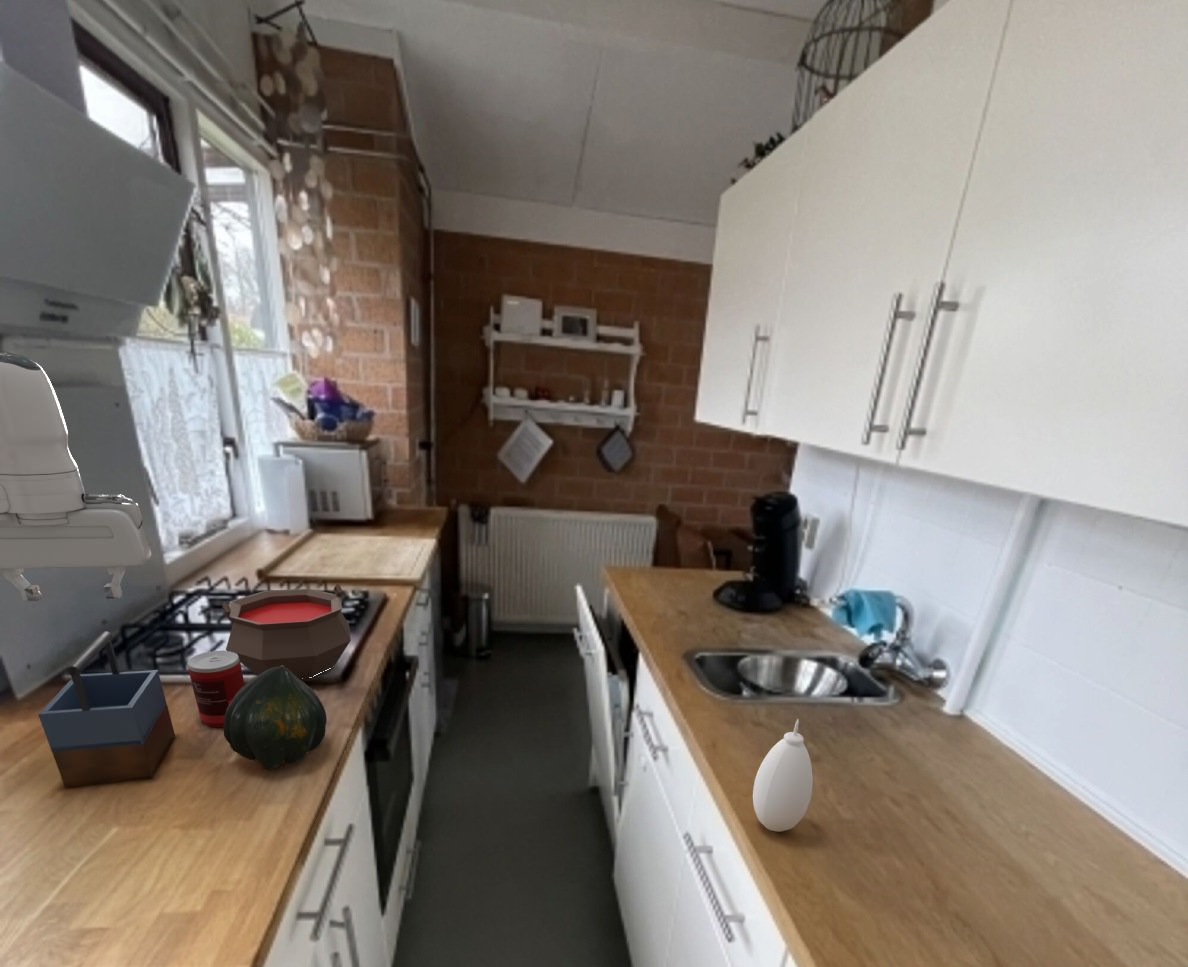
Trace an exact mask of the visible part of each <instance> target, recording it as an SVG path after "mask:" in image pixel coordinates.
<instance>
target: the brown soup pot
mask: <svg viewBox="0 0 1188 967" xmlns="http://www.w3.org/2000/svg"><path fill="white" fill-rule="evenodd" d="M333 591H334V593H331V592H326V591H322V590H317V589H313V588H295V589H294V588H293V589H273V590H272V589H271V590H264V591H260V592H257V593H254V594H250V595H247V596H244V597H240V598H237V599H234V600H231V601H229V603H228V602H227V601H223V602H222V604H221V610H222V613H223V615H224V617H226V618H227V619H228V620H229V621H230V622H232V624H231V625H232V626H231V630H230V632H229V637H228V640H227V644H226V647H225V651H230V652H234V653H236V654H237V655H238V657H239V660H240V664H241V665H244V667H246V668H247V669H248V670H249V671H250V672H251V673H253V674H254V675H255V676H256V677H257V676H259V675H260V674H262V673H263V672H265V671H267V670H269V669H271V668H274V667H279V666H281V665H282V666H284V667H285V668H287V669H288V670H290V671H291V672H292V673H293V674H294V675H295V676H296V677H297V678H298V679H300V680H301V681H302V682H304V683H305V682H306V683H307V682H311V681H314V680H316V679H318V678H320V677H323V676H324V675H326V674H328V673H331V672H332V671H333V669H334V667H335V666H336V664H338V661H339V660H340V658H341V657H342V656H343V654H344V652H345V651H346V649H347V648H348V646H349V644H350V643H351V641H352V638H351V630H350V624H349V622H348V621H347V619H346V617H345V616H344V614H343V612H342V610H343V605H342V604H343V603H342V594H343V589H342V587H341V584H339V583H336V584H335V585H334V587H333ZM333 666H334V667H333ZM332 667H333V668H332ZM329 668H331V669H329ZM327 669H329V670H327ZM325 670H327V671H325ZM323 671H324V672H323ZM320 672H322V673H320ZM318 673H320V674H318ZM316 674H318V675H316ZM314 675H316V676H314ZM313 676H314V677H313ZM309 677H312V678H309ZM302 678H303V679H302Z"/></svg>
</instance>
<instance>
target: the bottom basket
mask: <svg viewBox="0 0 1188 967" xmlns="http://www.w3.org/2000/svg"><path fill="white" fill-rule="evenodd" d="M175 737H176V733H175V729H174V726H173V720H172V718H171V714H170V710H169V706H168V703H167V704H166V706H165V707H164V709H163V711H162V712H161V714H160V716H159V717H158V719H157V721H156V722H155V724H154V726H153V727H152V729H151V731H150V732H149V734H148V736H147V737H146V739H145V741H144V742H143V744H140V745H128V746H117V747H105V748H93V749H81V750H69V751H57V752H52V751H51V753H52V756H53V759H54V761H55V764H56V767H57V770H58V773H59V776H60V778H61V782H62V783H63V786H64V788H65V789H67V788H75V787H84V786H85V787H86V786H96V785H106V784H108V785H109V784H116V783H117V784H118V783H126V782H127V783H128V782H136V781H137V782H138V781H148V780H153V779H154V777H155V775H157V774H156V773H157V772H158V770H159V768H160V766H161V764H162V762H163V760H164V759H165V757H166V755H167V753H168V751H169V749H170V747H171V745H172V743H173V742H174V740H175Z"/></svg>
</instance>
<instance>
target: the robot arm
mask: <svg viewBox="0 0 1188 967" xmlns="http://www.w3.org/2000/svg"><path fill="white" fill-rule="evenodd" d="M58 399H59V398H58V397H57V394H56V391H55V389H54V387H53V385H52V383H51V381H50V378H49V377H48V375H47V374H46V372H45V370H44V368H42V366H41V365H40V364H38V363H37V362H35V361H33V360H32V359H31V358H29V357H26V356H24V355H20V354H17V353H13V352H10V351H9V352H8V351H3V350H0V570H1V572H2V575H3V577H4V578H5V579H6V580H7V581H8V582H9V583H10V584H12V586H14V587H15V588H16V589H17V590H19V592H20V595H21V598H22V600H23V601H24V602H38V601H40V600H41V599H43V598H42V597H43V594H42V592H41V591H40V590H41V588H40V586H39V585H38V584H31V583H30V582H29V581H28V580H27V579H26V578H25V577H24V576H23V575H22V574H23V573H24V572H25V570H27V569H30V570H31V569H32V570H33V569H72V568H73V569H75V568H77V569H79V568H106V570H107V574H108V575H113V577H112V579H111V581H110V582H108V583H106V584H105V585H103V586H102V590H103V592H104V593H105V594H104V596H105V598H106V599H120V598H122V596H123V590H122V587H121V583H122V580H123V578H124V575H125V573H126V570H127V569H126V567H142V566H144V565H145V564H146V563H147V562H148V561H149V560H150V558H151V557H152V550H151V546H150V543H149V540H148V537H147V535H146V532H145V530H144V528H143V523H144V520H143V515H142V511H141V507H140V506H139V504H138V503H137V502H135V501H134V500H133V499H131V498H128V497H125V495H123V494H114V493H113V494H99V493H97V494H95V493H93V494H92V493H86V491H85V488H84V485H83V484H84V483H83V481H82V477H81V474H80V471H79V467H78V464H77V462H76V461H75V459H74V458H73V456H72V454H71V452H70V449H69V431H68V428H67V424H66V421H65V417H64V414H63V411H62V407H61V405H60V402H59V400H58Z"/></svg>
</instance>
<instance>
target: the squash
mask: <svg viewBox="0 0 1188 967" xmlns="http://www.w3.org/2000/svg"><path fill="white" fill-rule="evenodd" d="M244 685H245V686H243V687H242V688H241V689H240V690H239V691H238V692H237V694H236V695H235V697H234V698H233V700H232V701H231V703H230V704H229V706H228V708H227V710H226V714H225V718H224V727H223V737H224V739H225V740H226V742H227V743H228V744H229V746H230V748H231V750H232V751H233V753H236V754H238V755H240V756H241V757H242V758H244V759H246V760H250V761H257V762H258V764H260V765H261V767H263V768H266V769H270V770H275V769H277V768H279V767H281V765H283V763H284V762H285V763H287V764H297V763H298V762H301V761H302V760H304V758H305V757H306V756H307V754H308V753H311V752H312V751H315V750H316V749H318V748H319V746H320V745H321V743H323V740H324V739H325V736H326V732H327V729H326V728H327V722H328V718H327V717H328V716H327V712H326V709H325V707H324V705H323V703H322V701H321V700H320V698H319V696H318V695H317V694H316V692H315V691H314V690H313V689H312V688H311V687H310V686H309V685H307V684H306V683H305V682H302V681H301V680H300V679H298V678H297V677H296V676H295V675H294V674H293V673H292V672H291V671H290V670H288V669H287V668H285V667H284V666H282V665H281V666H279V667H274V668H271V669H269V670H267V671H265V672H263V673H262V674H260V675H259V676H257V675H256V677H253V678H251V679H250V680H249V681H248V682H247V683H246V684H244Z"/></svg>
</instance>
